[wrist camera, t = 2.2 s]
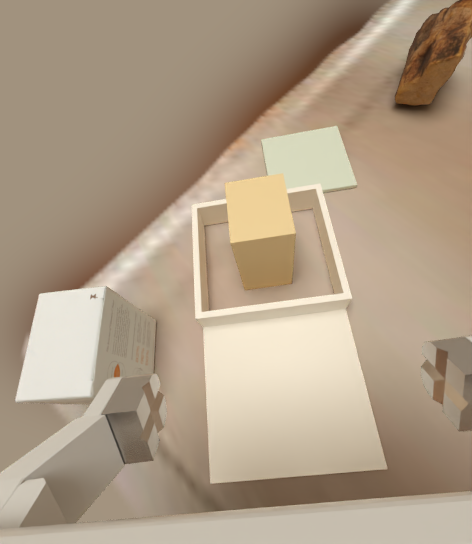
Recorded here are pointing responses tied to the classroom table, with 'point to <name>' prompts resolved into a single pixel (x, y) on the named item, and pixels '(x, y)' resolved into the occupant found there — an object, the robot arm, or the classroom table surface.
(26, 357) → the small box
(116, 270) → the classroom table surface
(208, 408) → the box
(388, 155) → the classroom table surface
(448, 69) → the decorative rock
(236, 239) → the block
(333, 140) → the sage mat
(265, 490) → the classroom table surface
